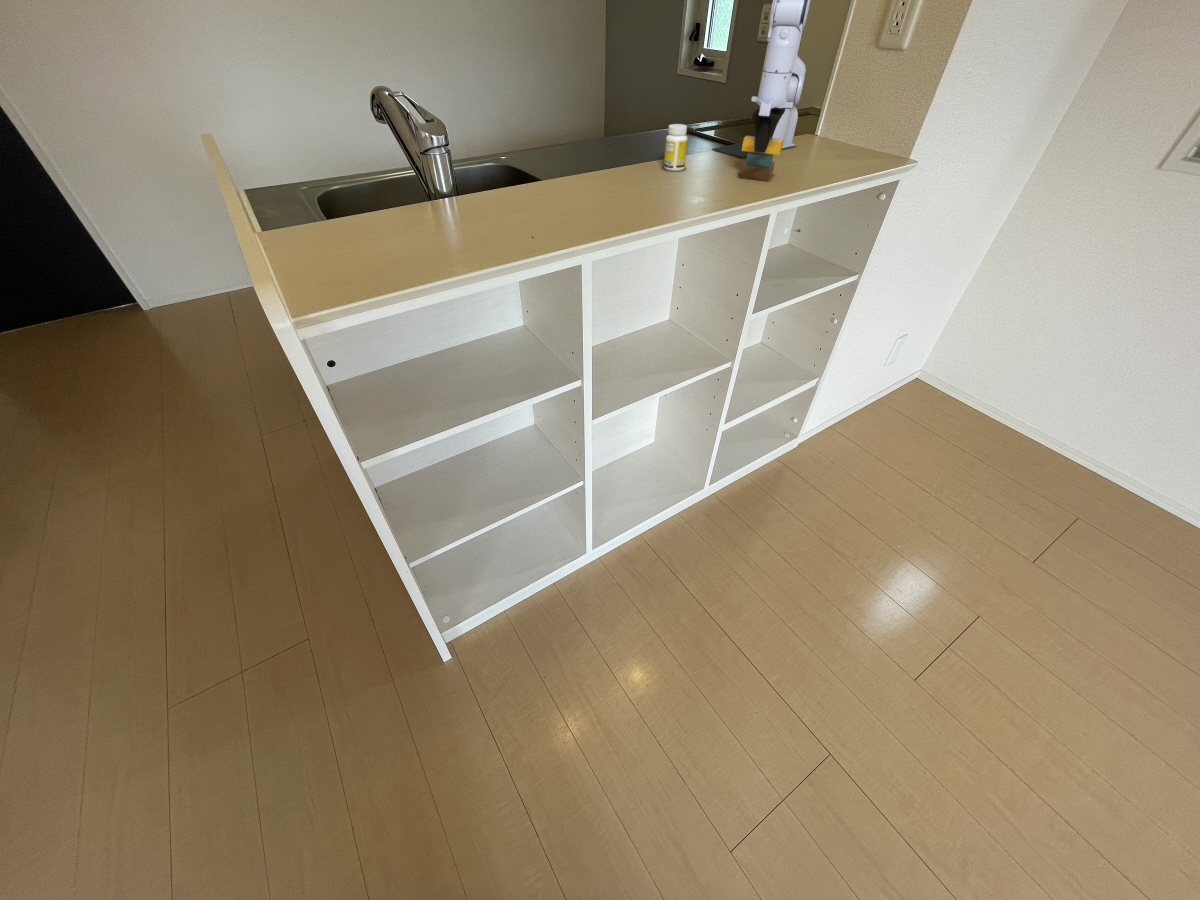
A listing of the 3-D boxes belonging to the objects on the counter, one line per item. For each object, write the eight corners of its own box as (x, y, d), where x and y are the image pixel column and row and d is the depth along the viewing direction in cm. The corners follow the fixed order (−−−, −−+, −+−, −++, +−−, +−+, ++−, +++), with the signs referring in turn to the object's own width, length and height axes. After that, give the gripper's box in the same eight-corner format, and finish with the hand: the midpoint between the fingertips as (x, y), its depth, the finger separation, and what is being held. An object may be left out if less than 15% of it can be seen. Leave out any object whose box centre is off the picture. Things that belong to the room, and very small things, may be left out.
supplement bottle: (684, 166, 118) (688, 123, 112) (684, 171, 114) (689, 128, 108) (663, 165, 118) (667, 123, 112) (663, 170, 114) (667, 127, 109)
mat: (748, 142, 135) (749, 141, 135) (778, 150, 129) (779, 148, 129) (712, 149, 129) (712, 148, 129) (742, 158, 123) (742, 156, 123)
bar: (741, 151, 109) (743, 138, 108) (744, 148, 111) (746, 135, 109) (779, 155, 107) (781, 142, 105) (781, 152, 109) (783, 139, 107)
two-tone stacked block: (740, 177, 111) (744, 154, 108) (745, 170, 115) (749, 148, 112) (767, 181, 109) (772, 157, 106) (772, 174, 113) (777, 151, 110)
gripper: (763, 66, 105) (749, 140, 115) (750, 74, 96) (736, 155, 105) (797, 68, 104) (780, 143, 113) (788, 77, 94) (770, 159, 103)
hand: (761, 149), depth 109 cm, fingers closed on bar, 3 cm apart
